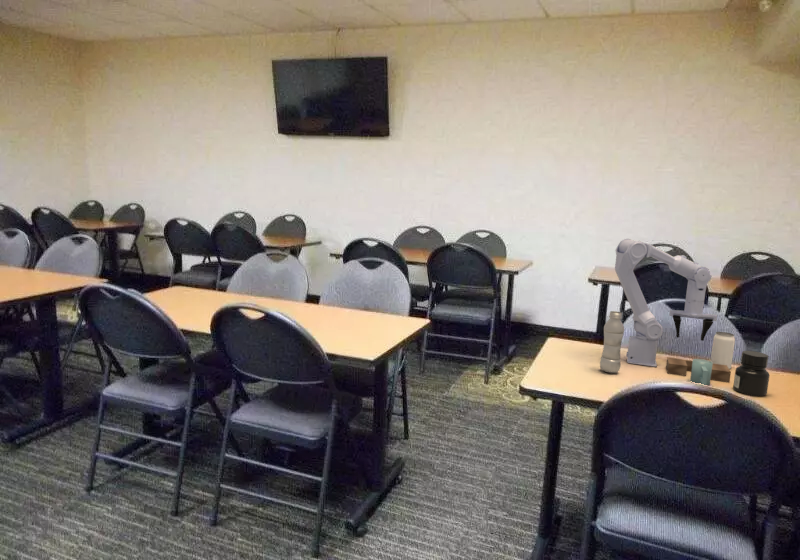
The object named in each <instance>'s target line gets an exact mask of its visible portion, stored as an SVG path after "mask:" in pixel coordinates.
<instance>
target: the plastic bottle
mask: <svg viewBox="0 0 800 560" xmlns="http://www.w3.org/2000/svg"><path fill="white" fill-rule="evenodd" d="M622 315H623V313H622V312H620V311H616V310H615V311H614V310H613V311H612V310H611V311H610V312H609V315H608V317H609V319H608V320H607V321H606V323H605V324H604V326H603V349H602V354H601V357H600V361H599V368H600V370H601V371H603V372H606V373H611V374H616V373H618V372H619V371H620V370H621V366H622V365H621V347H622V341H623V338H624V335H625V334H624V333H625V326H624V324H623V322H622V320H621V319H623V317H622Z"/></svg>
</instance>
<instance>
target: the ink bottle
mask: <svg viewBox="0 0 800 560" xmlns="http://www.w3.org/2000/svg"><path fill="white" fill-rule="evenodd" d="M768 363H769V355H768V354H767V353H763V352H759V351H752V350H743V351H742V352H741V358H740V365H739V366H737V367H736V368H735V369H734V370H735V372H734V378H733V386H732V388H733V390H734V391H736V392H738V393H741V394H745V395H748V396H752V397H764V396H766V395H768V394H767V393H768V390H769V382H770V372H769V371H768V370H767V369H766V368H767V366H768Z"/></svg>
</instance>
